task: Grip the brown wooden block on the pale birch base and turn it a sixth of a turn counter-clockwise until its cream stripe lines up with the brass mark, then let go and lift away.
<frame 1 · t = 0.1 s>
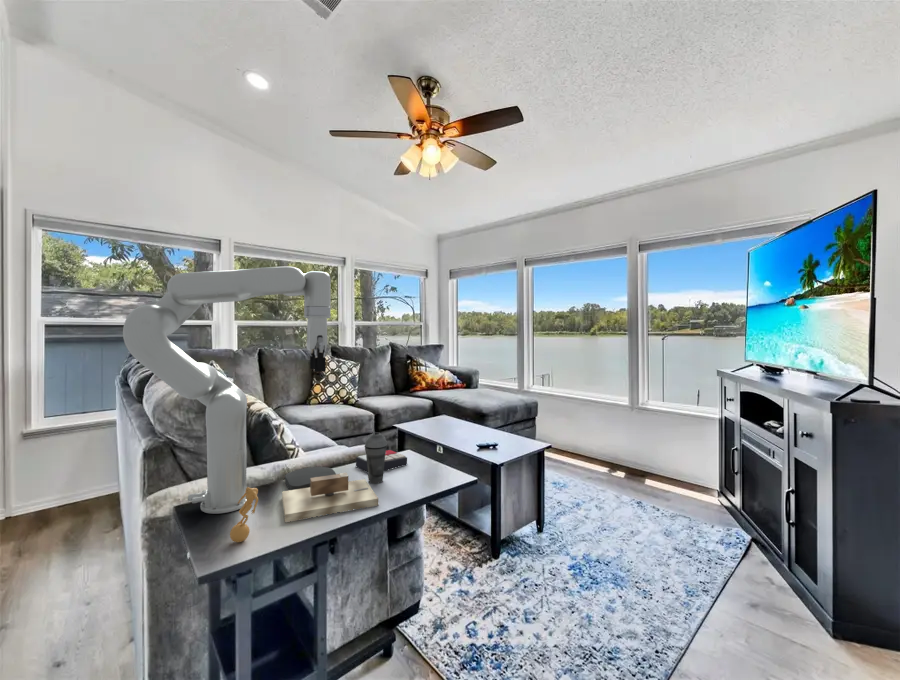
hand: (317, 370, 120), 37 cm above the table, tool pointing down, fingers open, 9 cm apart
media streaming box: (311, 483, 128), on the table
dial base: (329, 501, 113), on the table
brown wooden block: (329, 485, 113), point 5 cm above the table, hinge at 0.0°
figurine: (244, 540, 92), on the table
calculator: (381, 467, 144), on the table
beverage cup: (375, 481, 129), on the table
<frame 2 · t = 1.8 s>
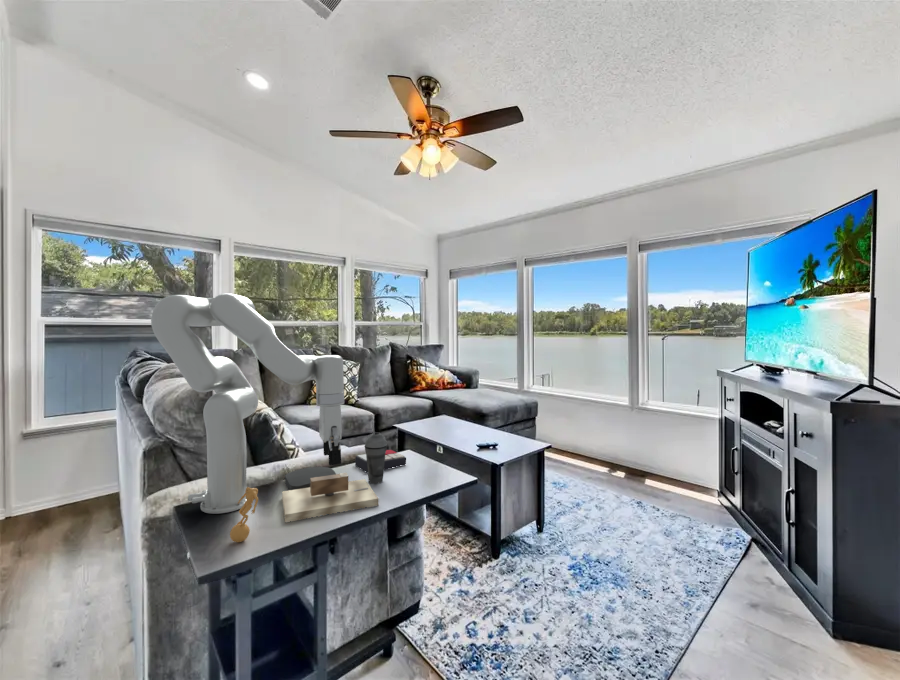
hand: (332, 459, 113), 12 cm above the table, tool pointing down, fingers open, 9 cm apart
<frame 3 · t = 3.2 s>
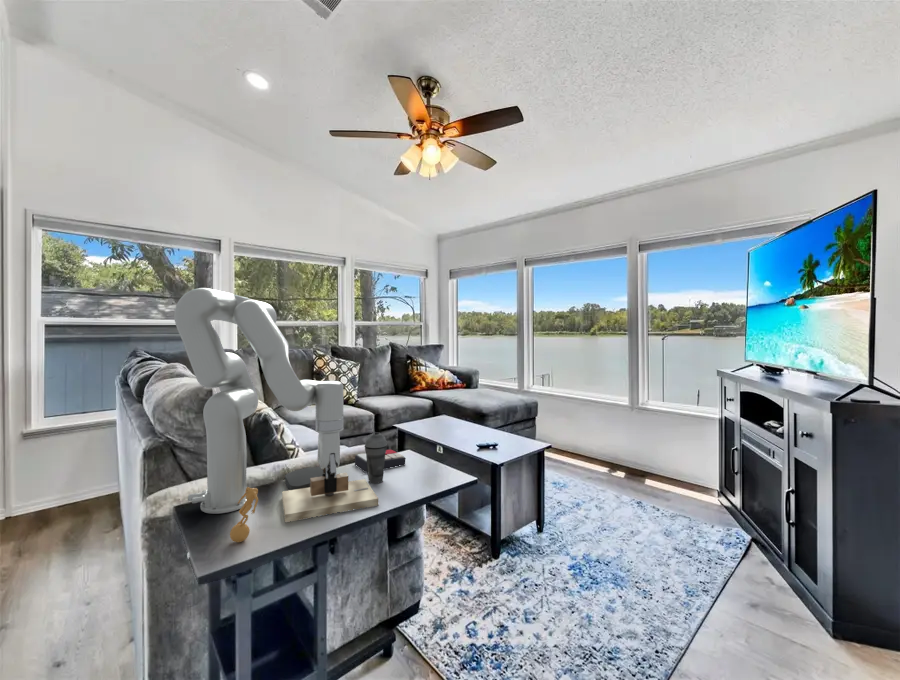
hand: (329, 488, 113), 4 cm above the table, tool pointing down, fingers closed on brown wooden block, 3 cm apart
brown wooden block: (329, 485, 113), point 5 cm above the table, hinge at 0.0°, touching gripper
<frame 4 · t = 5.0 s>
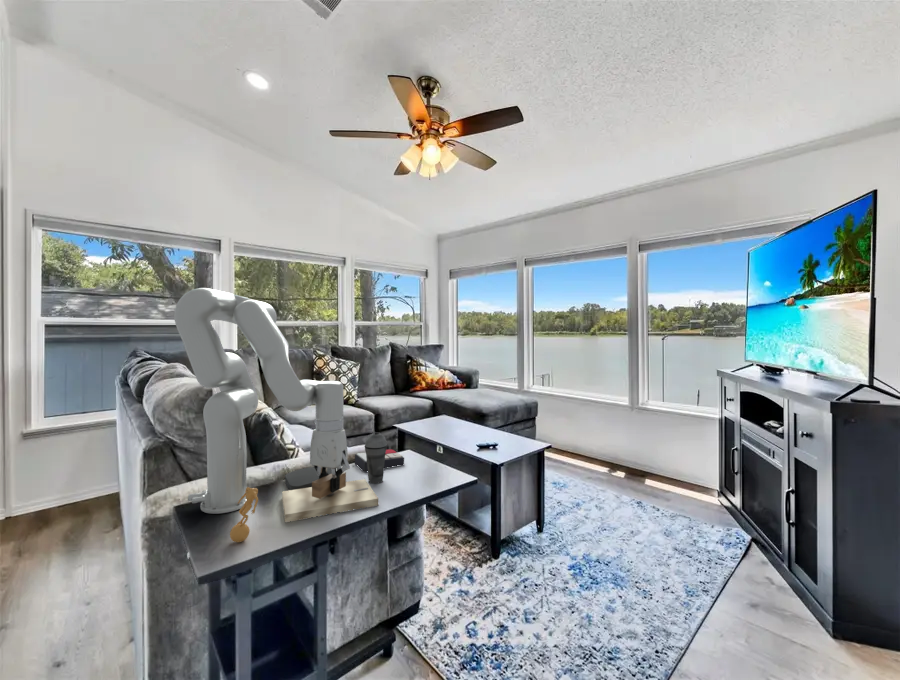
hand: (329, 488, 113), 4 cm above the table, tool pointing down, fingers closed on brown wooden block, 3 cm apart
brown wooden block: (329, 485, 113), point 5 cm above the table, hinge at 36.6°, touching gripper
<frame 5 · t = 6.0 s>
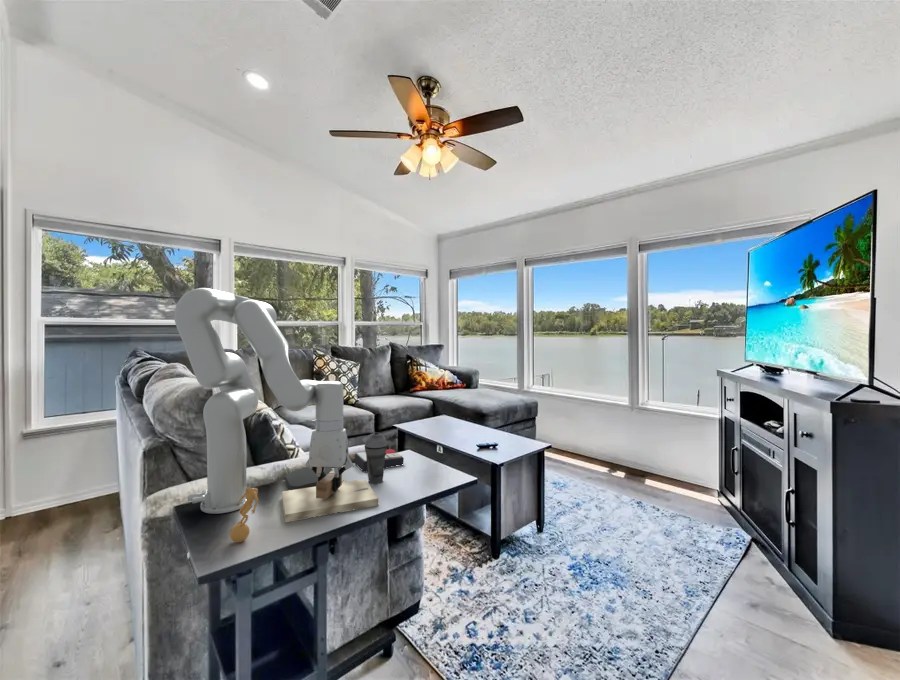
hand: (329, 488, 113), 4 cm above the table, tool pointing down, fingers closed on brown wooden block, 3 cm apart
brown wooden block: (329, 485, 113), point 5 cm above the table, hinge at 56.2°, touching gripper
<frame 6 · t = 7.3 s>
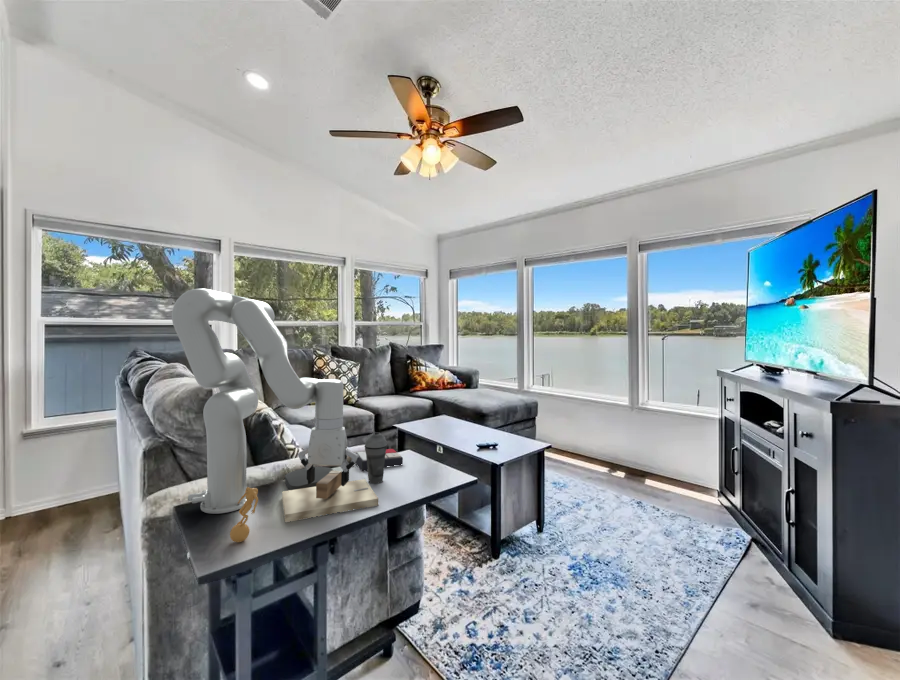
hand: (327, 483, 113), 5 cm above the table, tool pointing down, fingers open, 9 cm apart
brown wooden block: (329, 485, 113), point 5 cm above the table, hinge at 57.0°
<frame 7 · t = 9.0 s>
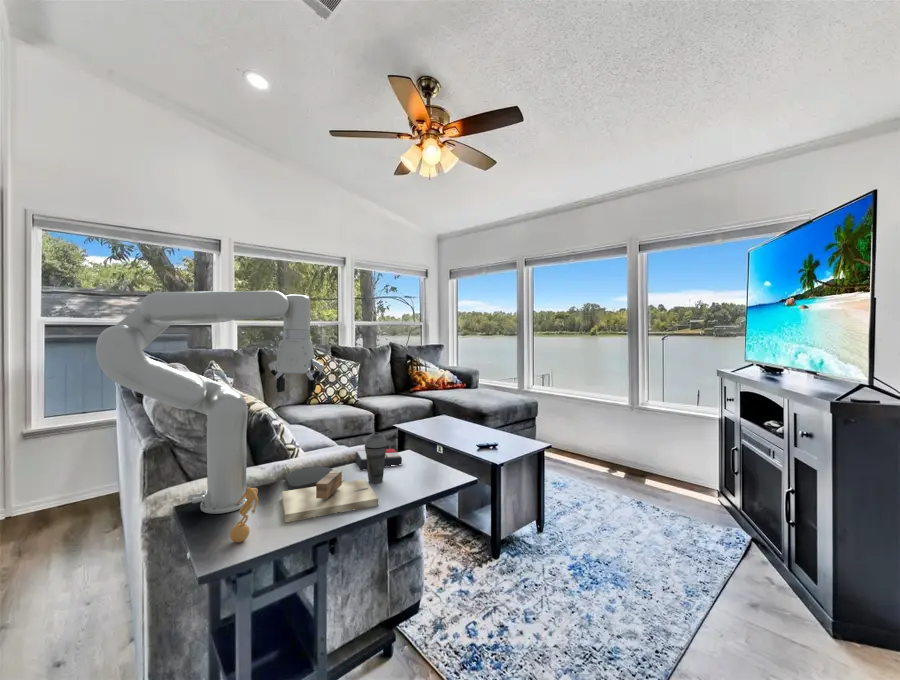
hand: (296, 392, 121), 30 cm above the table, tool pointing down, fingers open, 9 cm apart
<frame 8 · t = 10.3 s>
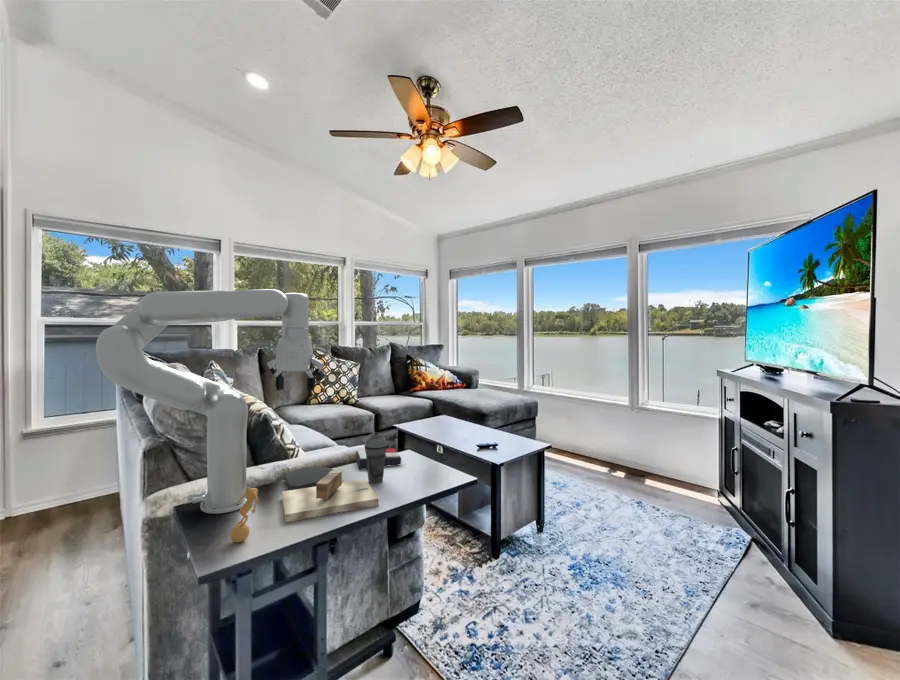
hand: (295, 390, 122), 30 cm above the table, tool pointing down, fingers open, 9 cm apart
at the end: brown wooden block at +57° (first picture: +0°); the gripper is holding nothing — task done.
